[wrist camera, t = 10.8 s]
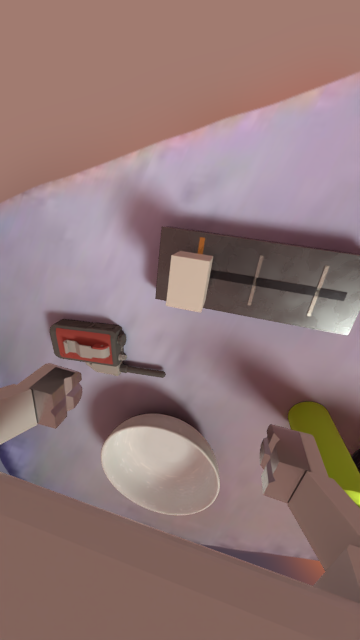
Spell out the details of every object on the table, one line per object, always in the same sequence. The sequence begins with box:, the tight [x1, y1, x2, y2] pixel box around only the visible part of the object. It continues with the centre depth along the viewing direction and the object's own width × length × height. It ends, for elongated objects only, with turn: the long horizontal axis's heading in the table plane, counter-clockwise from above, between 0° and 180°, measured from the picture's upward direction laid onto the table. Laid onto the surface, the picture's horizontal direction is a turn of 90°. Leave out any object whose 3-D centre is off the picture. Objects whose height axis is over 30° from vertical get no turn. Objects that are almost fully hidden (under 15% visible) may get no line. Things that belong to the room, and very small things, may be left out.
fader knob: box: [166, 251, 213, 312], centre depth 25 cm, size 4×5×7 cm
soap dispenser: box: [288, 402, 360, 508], centre depth 27 cm, size 6×7×20 cm
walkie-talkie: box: [50, 319, 166, 378], centre depth 38 cm, size 9×4×20 cm
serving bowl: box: [101, 414, 220, 515], centre depth 42 cm, size 21×21×7 cm
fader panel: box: [155, 227, 360, 336], centre depth 29 cm, size 24×9×3 cm, turn 83°
